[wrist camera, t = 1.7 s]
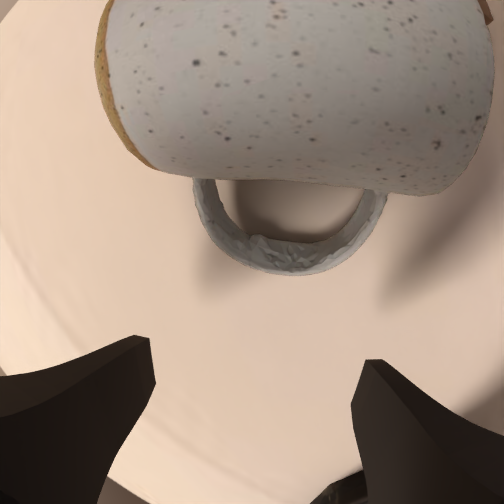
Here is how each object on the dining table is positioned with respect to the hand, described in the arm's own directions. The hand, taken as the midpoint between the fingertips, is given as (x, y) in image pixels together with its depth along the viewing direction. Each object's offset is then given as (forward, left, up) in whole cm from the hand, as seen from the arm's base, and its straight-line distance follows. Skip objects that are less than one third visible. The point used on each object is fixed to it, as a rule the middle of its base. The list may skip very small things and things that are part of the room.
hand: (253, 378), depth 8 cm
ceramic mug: (0, -9, -4) cm, 9 cm away
